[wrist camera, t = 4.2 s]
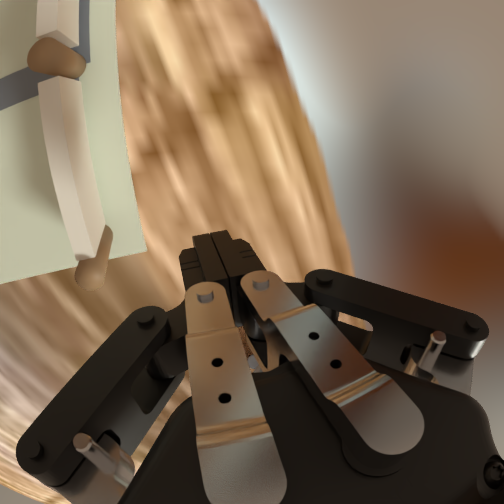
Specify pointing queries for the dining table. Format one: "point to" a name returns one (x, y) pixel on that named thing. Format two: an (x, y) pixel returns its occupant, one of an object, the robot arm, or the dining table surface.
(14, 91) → the card
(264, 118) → the dining table surface
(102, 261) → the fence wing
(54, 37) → the fence fixed
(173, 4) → the dining table surface
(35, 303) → the dining table surface
